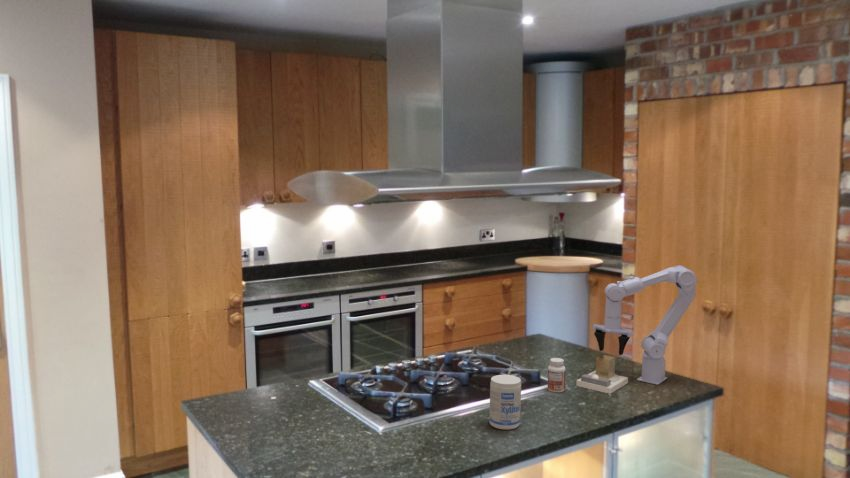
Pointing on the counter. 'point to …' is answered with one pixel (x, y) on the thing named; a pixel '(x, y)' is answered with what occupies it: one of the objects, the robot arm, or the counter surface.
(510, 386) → the supplement tub
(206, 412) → the counter surface
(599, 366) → the block
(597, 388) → the kitchen scale
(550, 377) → the pill bottle
